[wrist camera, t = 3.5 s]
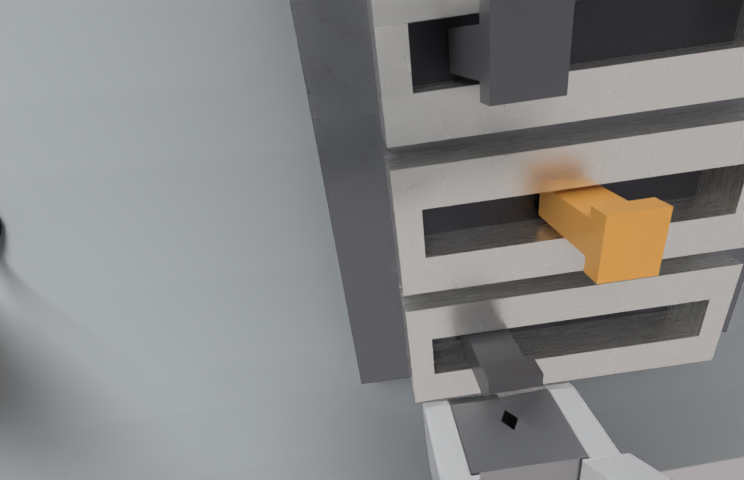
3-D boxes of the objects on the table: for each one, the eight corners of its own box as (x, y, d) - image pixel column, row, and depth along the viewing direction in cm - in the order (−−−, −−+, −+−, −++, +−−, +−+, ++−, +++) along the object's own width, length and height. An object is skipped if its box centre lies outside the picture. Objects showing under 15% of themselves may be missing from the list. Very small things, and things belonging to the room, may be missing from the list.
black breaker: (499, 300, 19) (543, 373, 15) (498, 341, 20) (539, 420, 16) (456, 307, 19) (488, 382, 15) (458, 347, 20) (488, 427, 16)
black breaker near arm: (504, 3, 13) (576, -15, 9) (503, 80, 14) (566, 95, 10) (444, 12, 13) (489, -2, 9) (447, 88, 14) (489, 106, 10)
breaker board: (809, -95, 15) (959, -139, 11) (695, 308, 23) (762, 358, 19) (291, -21, 15) (274, -42, 11) (360, 356, 23) (363, 416, 19)
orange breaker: (588, 164, 16) (673, 206, 12) (582, 219, 17) (658, 275, 13) (538, 171, 16) (606, 216, 12) (535, 226, 17) (596, 284, 13)
